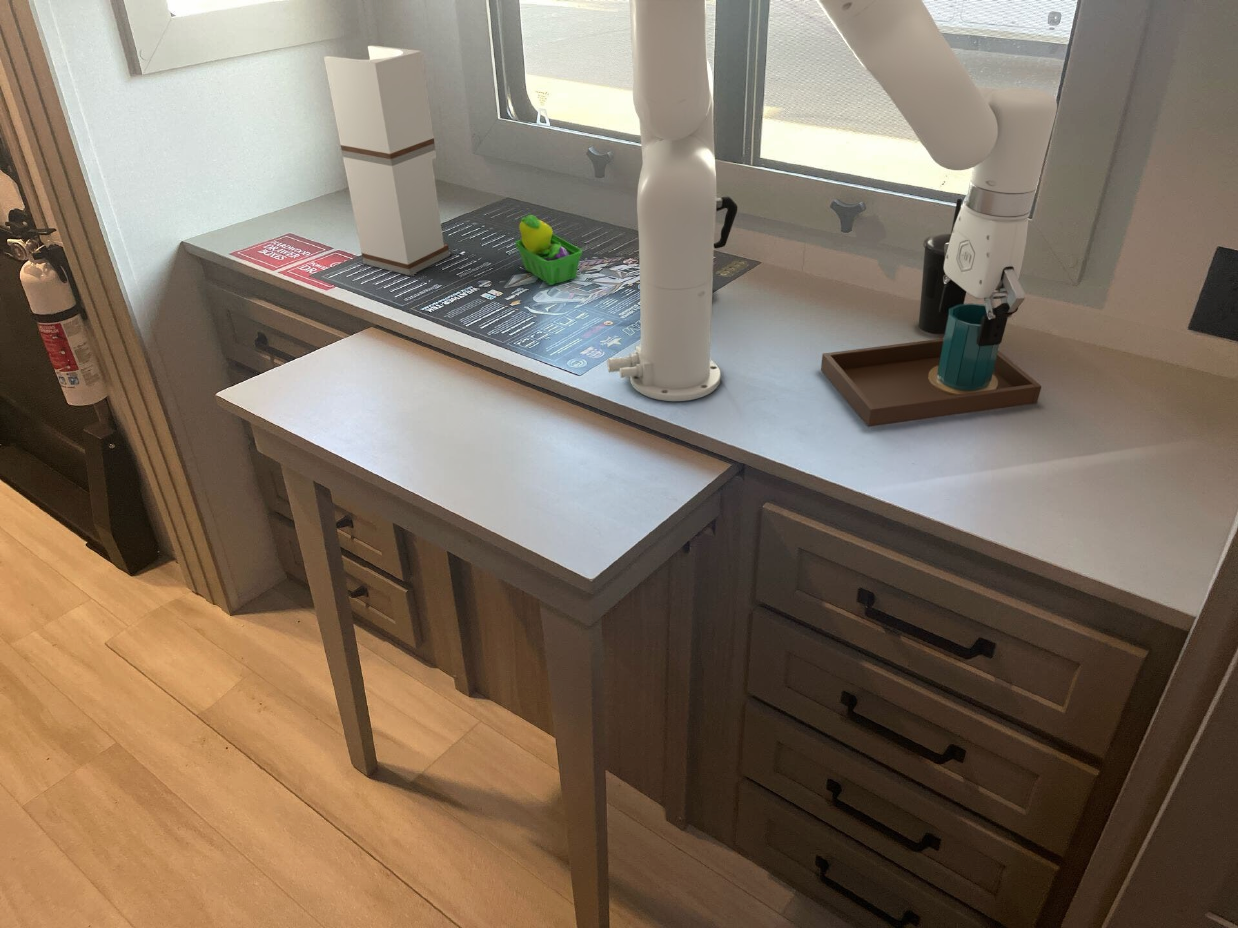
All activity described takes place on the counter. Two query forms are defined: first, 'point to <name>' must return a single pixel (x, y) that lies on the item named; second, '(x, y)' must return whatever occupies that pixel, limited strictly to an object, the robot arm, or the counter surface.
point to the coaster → (942, 387)
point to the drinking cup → (934, 281)
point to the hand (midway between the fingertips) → (968, 327)
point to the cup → (965, 350)
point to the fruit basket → (546, 252)
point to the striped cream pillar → (389, 156)
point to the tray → (916, 384)
